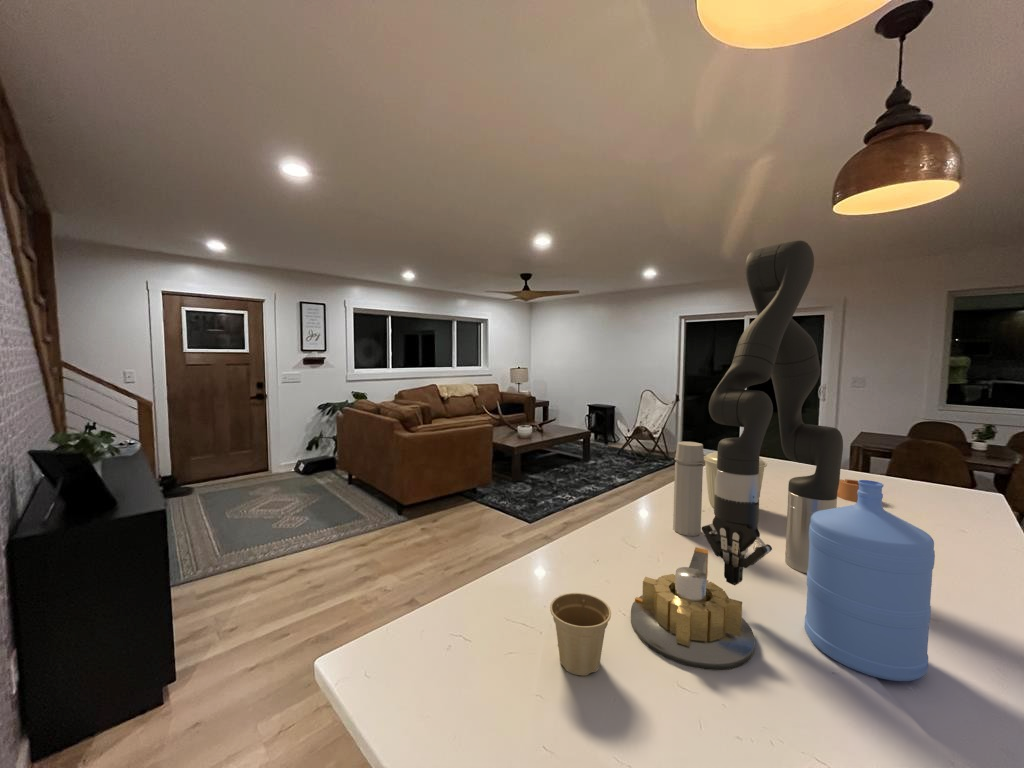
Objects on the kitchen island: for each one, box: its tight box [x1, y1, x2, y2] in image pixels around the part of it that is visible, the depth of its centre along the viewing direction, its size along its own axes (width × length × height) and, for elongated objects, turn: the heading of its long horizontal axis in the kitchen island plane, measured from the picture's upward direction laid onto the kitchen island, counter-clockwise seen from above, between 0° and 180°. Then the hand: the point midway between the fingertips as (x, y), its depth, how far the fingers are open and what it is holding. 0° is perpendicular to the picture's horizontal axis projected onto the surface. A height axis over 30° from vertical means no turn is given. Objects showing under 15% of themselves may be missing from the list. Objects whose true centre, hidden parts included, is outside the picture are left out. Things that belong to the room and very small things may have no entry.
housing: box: [630, 566, 756, 671], centre depth 74 cm, size 20×20×10 cm
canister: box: [704, 451, 768, 509], centre depth 135 cm, size 18×18×21 cm
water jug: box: [804, 479, 936, 682], centre depth 69 cm, size 16×16×28 cm
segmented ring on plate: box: [641, 547, 743, 646], centre depth 79 cm, size 16×24×6 cm, turn 170°
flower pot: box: [549, 592, 612, 676], centre depth 66 cm, size 9×9×9 cm
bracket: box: [837, 478, 859, 503], centre depth 151 cm, size 18×8×7 cm, turn 1°
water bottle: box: [672, 441, 705, 537], centre depth 118 cm, size 9×8×25 cm
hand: (733, 582), depth 81 cm, fingers closed
